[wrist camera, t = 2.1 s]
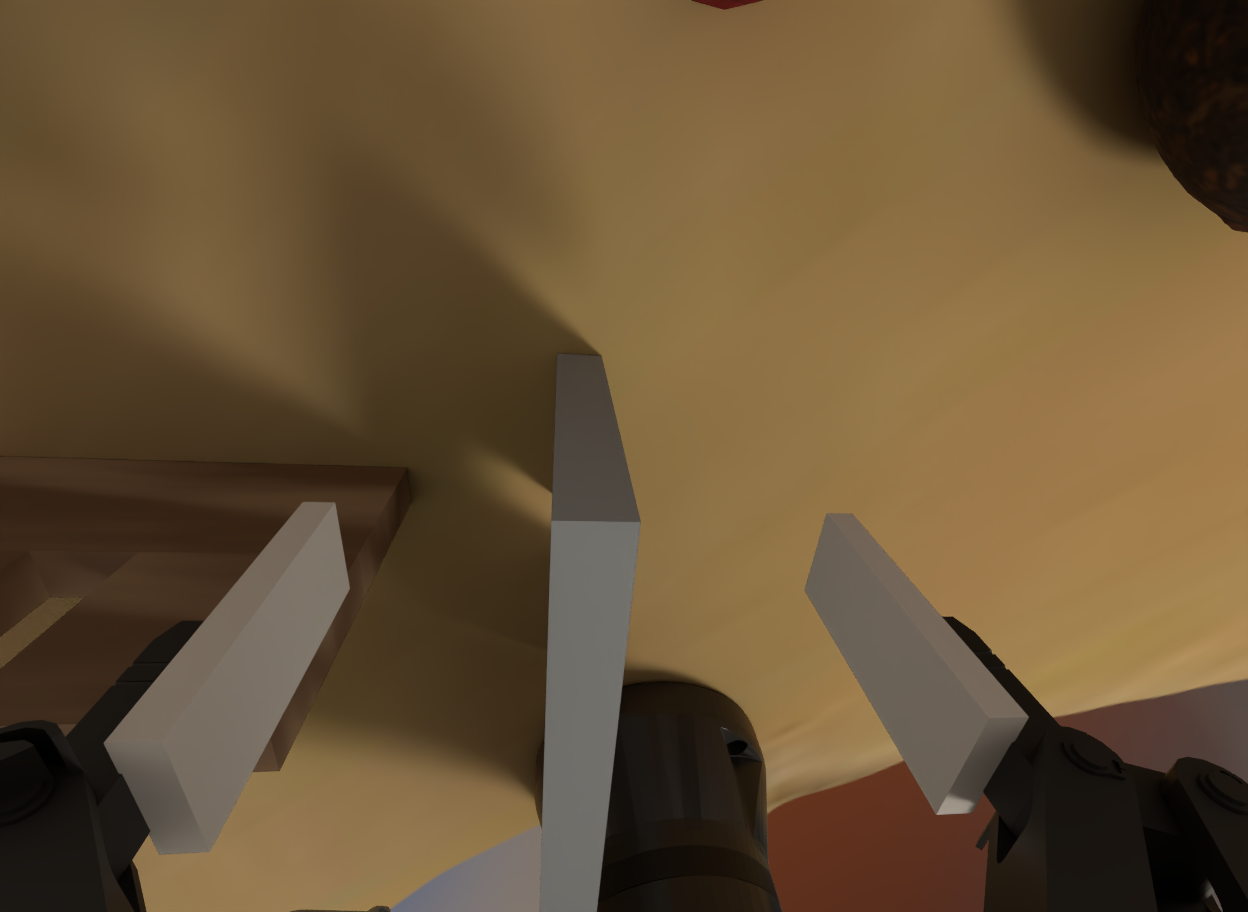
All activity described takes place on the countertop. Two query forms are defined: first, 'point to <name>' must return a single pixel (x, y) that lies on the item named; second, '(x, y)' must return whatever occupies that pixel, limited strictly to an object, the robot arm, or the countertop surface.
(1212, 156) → the dark brown vase
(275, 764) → the walnut board
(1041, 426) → the countertop surface
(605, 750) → the notched grey panel
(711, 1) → the plastic cup
